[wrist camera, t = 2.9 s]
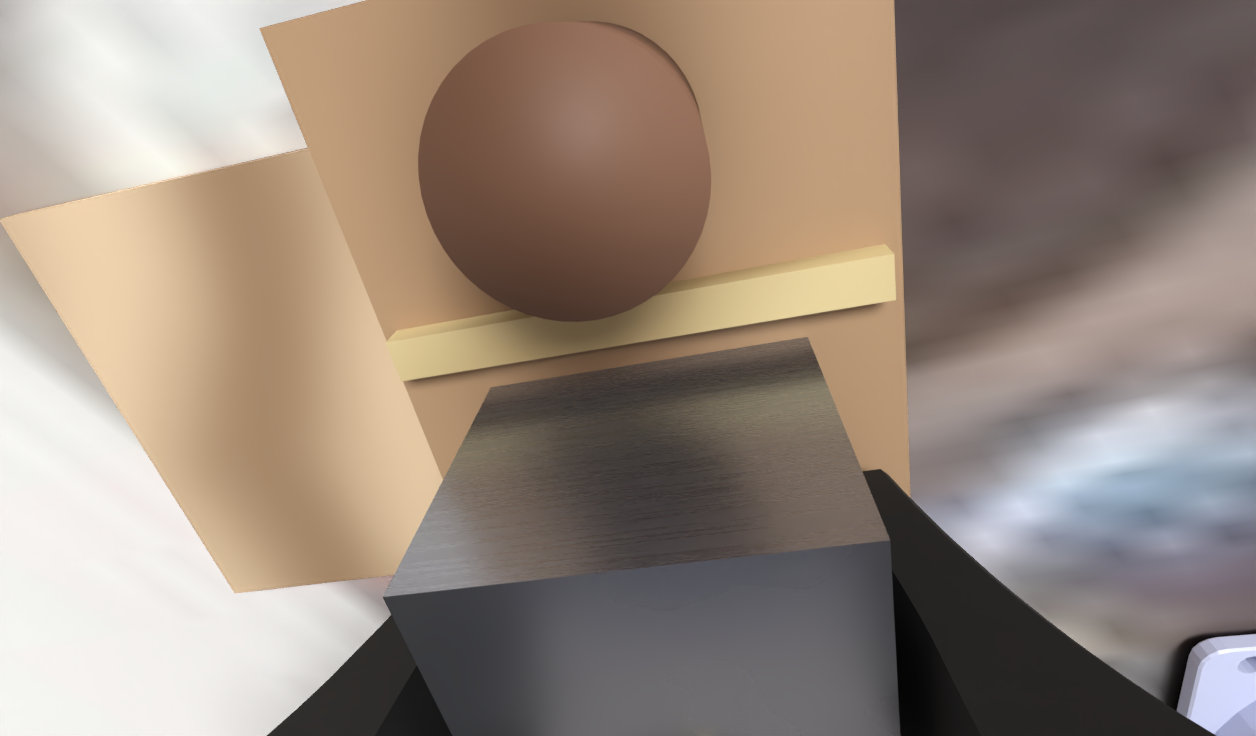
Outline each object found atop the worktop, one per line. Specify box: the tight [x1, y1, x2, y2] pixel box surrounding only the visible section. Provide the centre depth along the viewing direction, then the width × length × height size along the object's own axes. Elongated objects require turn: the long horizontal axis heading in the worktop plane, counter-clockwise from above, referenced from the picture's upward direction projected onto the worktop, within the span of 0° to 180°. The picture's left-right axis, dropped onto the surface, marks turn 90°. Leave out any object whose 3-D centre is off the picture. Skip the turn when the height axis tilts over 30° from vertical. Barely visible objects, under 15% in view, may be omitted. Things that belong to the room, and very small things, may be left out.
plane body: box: [260, 0, 910, 497], centre depth 11 cm, size 7×16×5 cm, turn 12°
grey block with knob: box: [383, 337, 900, 736], centre depth 9 cm, size 4×6×5 cm
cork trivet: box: [0, 148, 443, 593], centre depth 13 cm, size 7×9×1 cm
